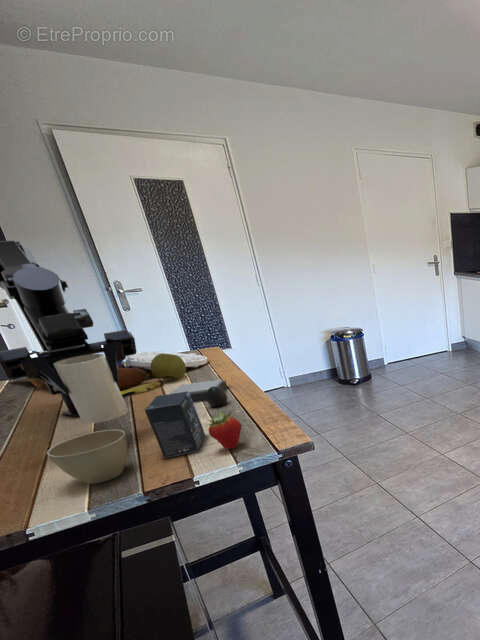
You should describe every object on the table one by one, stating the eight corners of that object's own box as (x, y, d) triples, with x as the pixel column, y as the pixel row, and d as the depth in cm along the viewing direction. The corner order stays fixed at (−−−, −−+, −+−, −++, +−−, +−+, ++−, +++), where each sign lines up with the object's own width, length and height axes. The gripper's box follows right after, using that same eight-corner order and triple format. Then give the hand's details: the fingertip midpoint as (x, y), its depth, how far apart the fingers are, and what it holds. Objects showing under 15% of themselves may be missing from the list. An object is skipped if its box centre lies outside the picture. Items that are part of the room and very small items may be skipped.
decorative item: (113, 397, 114) (106, 394, 116) (114, 400, 114) (107, 396, 117) (163, 383, 122) (156, 380, 125) (164, 386, 123) (157, 383, 125)
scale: (166, 405, 109) (162, 396, 108) (181, 393, 117) (177, 384, 116) (216, 398, 112) (213, 389, 111) (227, 387, 120) (224, 378, 119)
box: (199, 451, 86) (179, 403, 81) (164, 459, 83) (142, 409, 79) (206, 435, 92) (189, 389, 88) (174, 442, 90) (154, 395, 86)
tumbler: (74, 421, 85) (44, 364, 80) (114, 407, 91) (88, 353, 86) (97, 425, 83) (68, 366, 78) (136, 410, 89) (112, 355, 84)
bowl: (95, 494, 73) (76, 458, 70) (51, 490, 75) (30, 454, 72) (154, 463, 82) (138, 430, 79) (113, 460, 84) (96, 427, 81)
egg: (210, 410, 105) (203, 391, 103) (208, 405, 108) (201, 386, 106) (230, 405, 108) (223, 386, 106) (227, 400, 110) (221, 382, 108)
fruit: (219, 445, 88) (206, 409, 85) (249, 439, 90) (237, 404, 87) (213, 456, 83) (199, 419, 80) (245, 450, 85) (232, 413, 82)
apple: (183, 360, 132) (183, 382, 131) (148, 357, 127) (148, 380, 125) (188, 351, 127) (188, 374, 126) (152, 348, 122) (152, 372, 120)
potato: (154, 386, 125) (150, 368, 122) (102, 400, 116) (96, 381, 113) (143, 375, 127) (139, 358, 124) (91, 388, 118) (85, 369, 115)
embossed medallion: (220, 366, 142) (219, 358, 141) (145, 372, 124) (144, 362, 124) (187, 358, 150) (186, 350, 150) (113, 362, 133) (112, 353, 132)
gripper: (-32, 307, 73) (9, 379, 71) (112, 290, 86) (150, 350, 85) (-11, 345, 81) (27, 412, 79) (118, 324, 94) (153, 380, 92)
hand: (92, 387), depth 83 cm, fingers closed on tumbler, 7 cm apart
